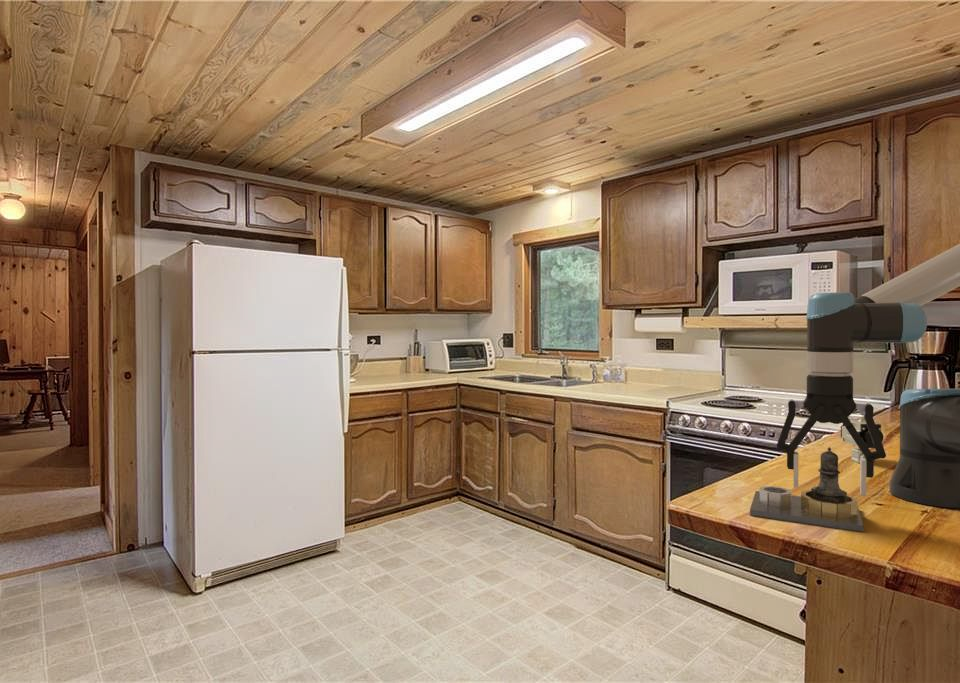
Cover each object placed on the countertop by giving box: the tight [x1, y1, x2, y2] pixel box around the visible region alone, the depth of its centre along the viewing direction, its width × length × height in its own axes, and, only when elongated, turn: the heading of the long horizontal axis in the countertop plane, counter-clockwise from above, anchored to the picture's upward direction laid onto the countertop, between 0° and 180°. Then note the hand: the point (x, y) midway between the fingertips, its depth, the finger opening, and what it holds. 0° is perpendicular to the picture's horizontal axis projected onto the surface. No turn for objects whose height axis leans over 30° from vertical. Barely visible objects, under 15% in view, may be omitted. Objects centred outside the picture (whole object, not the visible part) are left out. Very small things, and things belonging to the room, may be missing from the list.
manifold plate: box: [749, 485, 864, 533], centre depth 109 cm, size 18×14×4 cm
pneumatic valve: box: [840, 416, 885, 464], centre depth 149 cm, size 6×12×12 cm, turn 174°
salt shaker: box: [810, 447, 848, 503], centre depth 107 cm, size 6×6×12 cm
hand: (828, 490), depth 107 cm, fingers open, 10 cm apart
